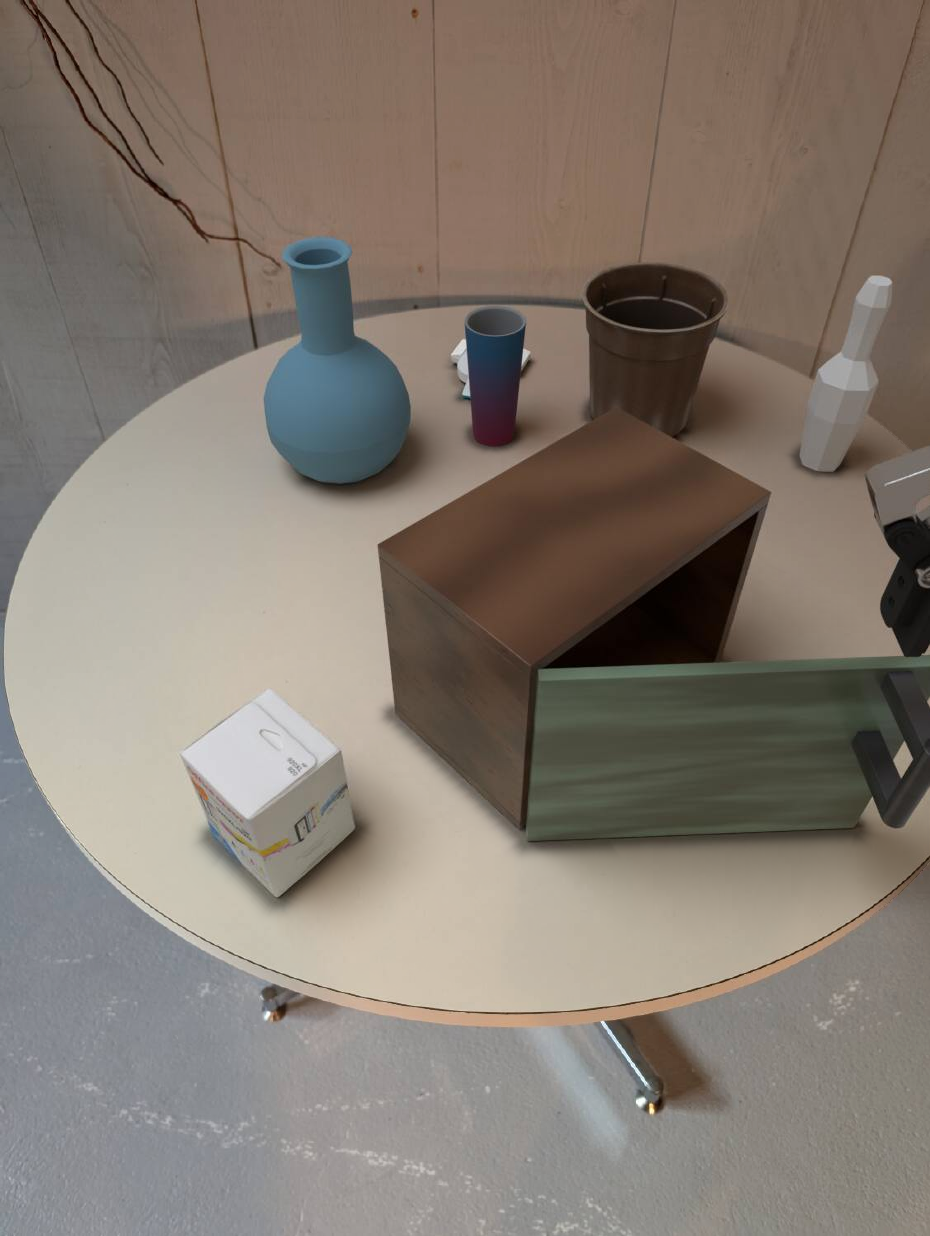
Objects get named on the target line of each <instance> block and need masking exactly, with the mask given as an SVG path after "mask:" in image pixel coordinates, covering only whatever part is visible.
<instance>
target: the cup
mask: <svg viewBox="0 0 930 1236" xmlns="http://www.w3.org/2000/svg"><path fill="white" fill-rule="evenodd" d="M526 327H527V318H526V316H525V315H524V314H523V313H522V312H521V311H520V310H518V309H516V308H514V307H510V306H505V305H485V306H481V307H478V308H474V309H473V310H471V311H470V312H468V313H467V314H466V315H465V317H464V333H465V334H464V335H465V339H466V348H467V361H468V374H469V387H470V398H469V399H470V411H471V423H472V437H473V438H474V440H475V441H476V442H478V444H479V443H480V444H481V445H484V446H486V447H487V446H488V447H500V446H503V445H506V444H508V443H510V442H511V441H512V440H513V439H514V438H515V429H516V420H517V412H518V404H519V403H518V401H519V393H520V384H521V374H522V371H521V366H522V356H523V348H524V346H525V336H526V329H527V328H526Z"/></svg>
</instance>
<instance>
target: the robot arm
mask: <svg viewBox="0 0 930 1236" xmlns="http://www.w3.org/2000/svg"><path fill="white" fill-rule="evenodd" d="M864 475H865V476H864V479H865V483H866V487H867V491H868V496H869V499H870V504H871V506H872V509H873V516H874V517H873V518H874V519H875V521H876V524H877V525H878V527H879V530H880V532H881V534H882V535H883V537H884V540H885V543H886V544H887V546H888V548H889V549H890V550H891V551H892V552H893V553H894V554H895V555H896V556H897V557H898V561H897V563H896V565H895V566H894V569H893V571H892V574H891V576H890V577H889V581H888V582H887V584H886V587H885V589H884V591H883V593H882V595H881V597H880V603H879V611H880V615H881V619H882V620H883V622H884V624H885V626H886V627H887V628H888V629H891V630H892V632H893V634H894V637H895V639H896V641H897V644H898V645H899V648H900V650H901V653H902V656H905V657H920V656H921V655H925V654H926V652H927V651H928V648H929V647H930V505H928V506H926V507H925V508H924V509H922V510H920V511H919V512H916V507H917V505H918V503H919V502H920V501H921V500H922V499H924V498H926V497H928V496H930V444H929V445H925V446H923V447H921V448H918V449H915V450H912V451H909V452H907V453H905V454H902V455H898V456H895V457H892V458H890V459H887V460H885V461H882V462H879V463H877V464H875V465H873V466H871V467H870V468H868V470H867V471H866V473H865V474H864Z"/></svg>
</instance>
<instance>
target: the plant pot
mask: <svg viewBox="0 0 930 1236" xmlns="http://www.w3.org/2000/svg"><path fill="white" fill-rule="evenodd" d="M581 301H582V304H583V306H584V307H585V328H586V332H587V333H588V351H589V352H588V358H589V359H588V363H589V365H588V366H589V368H588V369H589V370H588V371H589V373H588V374H589V376H588V377H589V417H590V418H592V421H593V420H595V419H596V418H598V417H600V416H602V415H603V414H605V413H607V412H608V411H610V410H612V409H614V408H615V407H618V408H619V409H621V410H623V411H625V412H627V413H629V414H630V415H632V416H634V417H636V418H638V419H639V420H641V421H643V422H645V423H647V424H649V425H650V426H652V427H654V428H656V429H658V430H659V431H661V432H663V433H665V434H667V435H669V436H670V437H672V438H674V437H675V436H677V435H679V433H681V432H682V431H683V430H684V429H685V427H686V426H687V424H688V421H689V418H690V414H691V410H692V407H693V403H694V399H695V396H696V392H697V389H698V386H699V383H700V379H701V376H702V372H703V368H704V366H705V362H706V359H707V355H708V352H709V349H710V347H711V344H712V343H713V341H714V340H715V338H716V335H717V331H718V327H719V325H720V322H721V319H722V318H723V317H724V316H725V314H726V312H727V310H728V307H729V304H730V298H729V294H728V292H727V290H726V289H725V287H724V285H722V284H721V282H719V281H718V280H717V279H716V278H714V277H712V276H710V275H709V274H707V273H704V272H703V271H700V270H698V269H694V268H692V267H686V266H683V265H679V264H676V263H675V264H674V263H668V262H657V261H656V262H655V261H642V262H641V261H639V262H629V263H623V264H619V265H614V266H611V267H607V268H605V269H602V270H600V271H598V272H596V273H594V274H593V275H592V276H591V277H589V278H588V279H587V280H586V281H585V283H584V285H583V286H582V289H581Z"/></svg>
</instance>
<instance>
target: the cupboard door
mask: <svg viewBox="0 0 930 1236" xmlns="http://www.w3.org/2000/svg"><path fill="white" fill-rule="evenodd" d="M929 699H930V654H922V655H921V656H920V657H905V656H904V655H888V656H887V655H886V656H862V657H861V656H859V657H833V658H831V657H830V658H806V659H805V658H804V659H779V660H753V661H752V660H749V661H723V662H722V661H721V662H720V663H693V664H665V665H638V666H611V667H584V668H557V669H538V676H537V689H536V702H535V716H534V729H533V742H532V755H531V768H530V781H529V794H528V807H527V820H526V825H525V837H526V841H527V842H537V841H538V842H540V841H541V842H542V841H561V840H562V841H565V840H566V841H567V840H587V839H590V840H591V839H611V838H612V839H613V838H614V839H615V838H634V837H635V838H637V837H639V838H641V837H660V836H661V837H662V836H664V837H665V836H685V835H710V834H711V835H712V834H713V835H714V834H734V833H759V832H784V831H785V832H786V831H810V830H829V829H830V830H833V829H854V828H855V827H856V825H857V823H858V821H859V820H860V818H861V817H862V815H863V813H864V811H865V809H866V808H867V806H868V805H869V803H870V801H871V799H873V802H874V805H875V807H876V809H877V812H878V814H879V817H880V819H881V821H882V823H884V824H885V825H886V826H887V827H888V828H891V829H897V830H898V829H901V828H903V827H905V826H906V824H907V823H908V821H909V819H910V818H911V816H912V815H913V814H914V812H915V810H916V809H917V808H918V806H919V804H920V802H921V801H922V800H923V798H924V796H925V795H926V794H927V792H928V790H929V789H930V704H929V703H928V701H929ZM904 742H905V745H906V747H907V750H908V752H909V753H910V756H911V759H912V760H911V762H910V763H909V765H908V767H907V769H906V770H905V771H904V773H903V775H902V776H901V775H900V773H899V770H898V768H897V766H896V764H895V761H894V760H895V758H896V756H897V754H898V753H899V751H900V750H901V748H902V746H903V745H904Z"/></svg>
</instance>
